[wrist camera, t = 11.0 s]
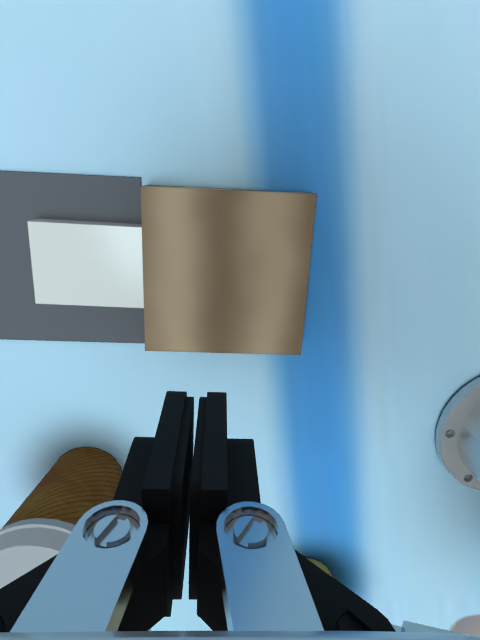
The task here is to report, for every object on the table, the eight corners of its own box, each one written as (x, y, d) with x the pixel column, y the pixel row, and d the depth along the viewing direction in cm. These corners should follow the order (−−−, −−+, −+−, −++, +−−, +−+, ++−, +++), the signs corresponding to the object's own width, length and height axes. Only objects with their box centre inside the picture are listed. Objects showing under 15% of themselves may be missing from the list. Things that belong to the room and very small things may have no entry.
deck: (308, 192, 32) (316, 194, 30) (294, 340, 36) (300, 354, 33) (147, 185, 32) (140, 186, 29) (151, 336, 36) (144, 350, 33)
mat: (140, 177, 32) (140, 177, 31) (145, 341, 36) (144, 343, 35) (-28, 169, 31) (-30, 169, 31) (-3, 337, 35) (-5, 339, 35)
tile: (147, 224, 32) (142, 227, 30) (148, 300, 34) (144, 308, 32) (38, 218, 32) (27, 221, 30) (46, 296, 34) (35, 303, 32)
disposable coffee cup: (36, 511, 41) (-36, 641, 30) (36, 425, 38) (-43, 533, 27) (136, 520, 42) (105, 650, 30) (144, 437, 39) (112, 546, 27)
